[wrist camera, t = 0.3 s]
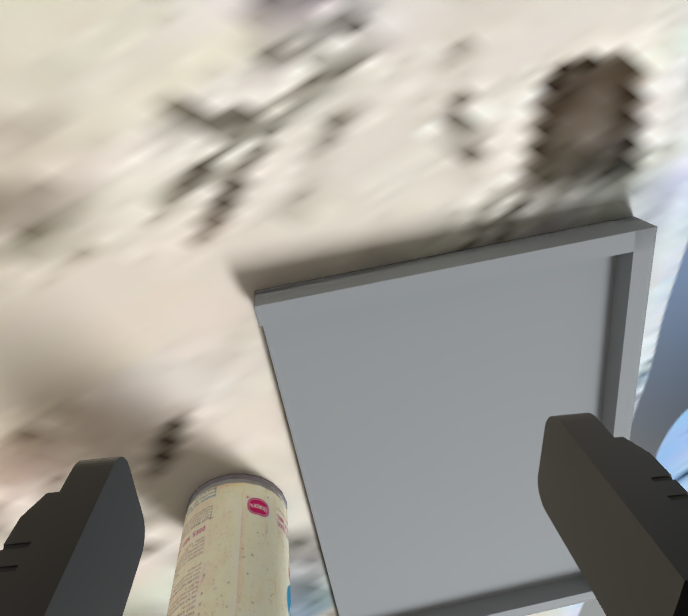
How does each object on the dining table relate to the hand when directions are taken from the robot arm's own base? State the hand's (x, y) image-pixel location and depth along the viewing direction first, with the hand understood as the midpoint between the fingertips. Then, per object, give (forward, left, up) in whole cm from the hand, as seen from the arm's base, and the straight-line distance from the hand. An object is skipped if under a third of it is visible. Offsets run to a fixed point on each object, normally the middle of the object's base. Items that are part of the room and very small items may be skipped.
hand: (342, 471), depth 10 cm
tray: (+20, +8, -19) cm, 29 cm away
